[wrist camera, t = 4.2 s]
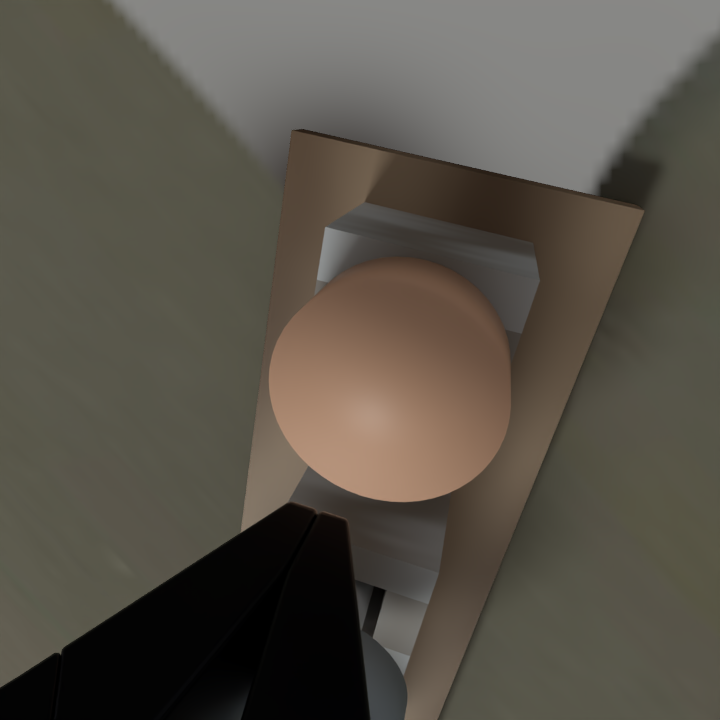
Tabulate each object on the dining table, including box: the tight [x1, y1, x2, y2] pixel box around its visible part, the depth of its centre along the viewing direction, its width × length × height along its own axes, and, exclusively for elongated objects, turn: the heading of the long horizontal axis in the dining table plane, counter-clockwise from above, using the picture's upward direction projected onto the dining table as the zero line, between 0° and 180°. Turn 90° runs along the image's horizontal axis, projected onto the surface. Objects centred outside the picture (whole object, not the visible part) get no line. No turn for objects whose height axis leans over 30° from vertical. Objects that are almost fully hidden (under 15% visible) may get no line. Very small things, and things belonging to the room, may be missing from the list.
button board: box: [241, 129, 644, 720], centre depth 20 cm, size 10×26×5 cm, turn 170°
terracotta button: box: [269, 257, 511, 502], centre depth 14 cm, size 5×5×6 cm
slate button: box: [355, 580, 408, 720], centre depth 16 cm, size 5×5×6 cm
